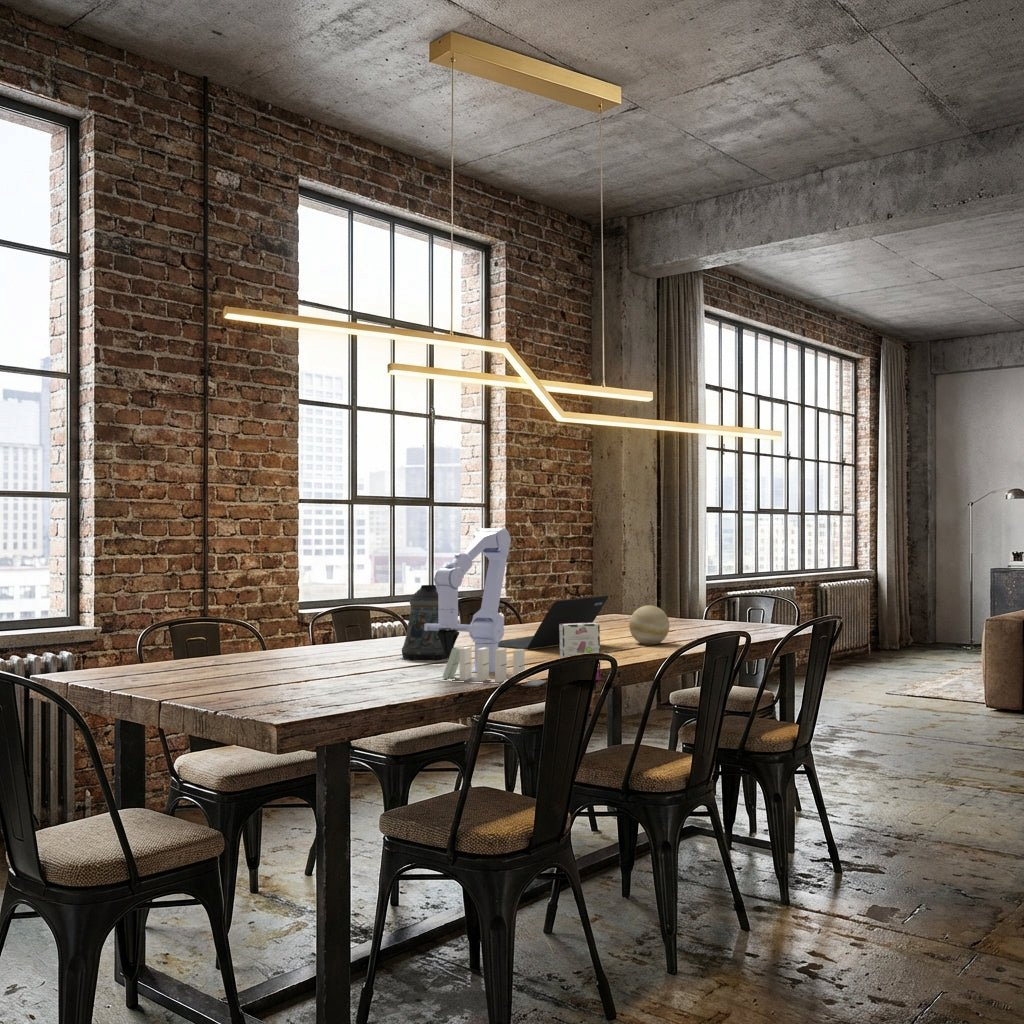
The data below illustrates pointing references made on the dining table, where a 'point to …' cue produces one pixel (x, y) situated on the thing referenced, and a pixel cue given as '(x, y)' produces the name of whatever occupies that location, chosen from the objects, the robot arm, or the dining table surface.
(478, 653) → the domino
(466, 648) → the domino
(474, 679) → the mat
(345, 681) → the dining table surface
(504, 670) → the domino
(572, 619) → the laptop
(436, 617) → the beer stein
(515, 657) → the domino
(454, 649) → the sage domino
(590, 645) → the candy bar box
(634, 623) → the decorative ball
